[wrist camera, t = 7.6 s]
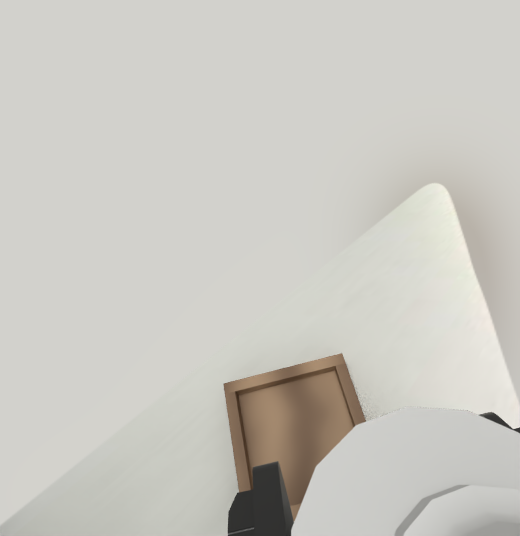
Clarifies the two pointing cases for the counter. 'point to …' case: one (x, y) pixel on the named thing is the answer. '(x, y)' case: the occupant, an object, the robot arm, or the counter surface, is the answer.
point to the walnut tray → (291, 420)
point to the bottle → (417, 478)
